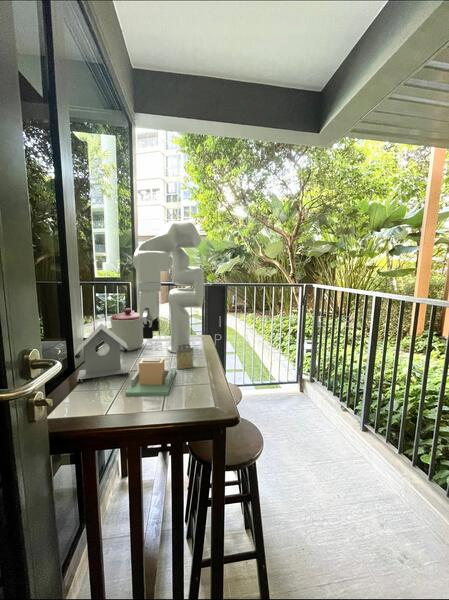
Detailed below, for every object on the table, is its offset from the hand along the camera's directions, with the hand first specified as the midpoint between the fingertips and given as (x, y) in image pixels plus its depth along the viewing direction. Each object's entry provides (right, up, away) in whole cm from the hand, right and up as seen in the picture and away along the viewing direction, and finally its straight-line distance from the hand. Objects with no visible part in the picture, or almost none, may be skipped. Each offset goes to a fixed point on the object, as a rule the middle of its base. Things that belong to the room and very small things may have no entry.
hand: (151, 334), depth 97 cm
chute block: (0, -17, +2) cm, 18 cm away
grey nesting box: (-21, -18, +10) cm, 30 cm away
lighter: (+9, -17, +19) cm, 27 cm away
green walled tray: (0, -18, +4) cm, 19 cm away
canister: (-24, -13, +45) cm, 52 cm away
